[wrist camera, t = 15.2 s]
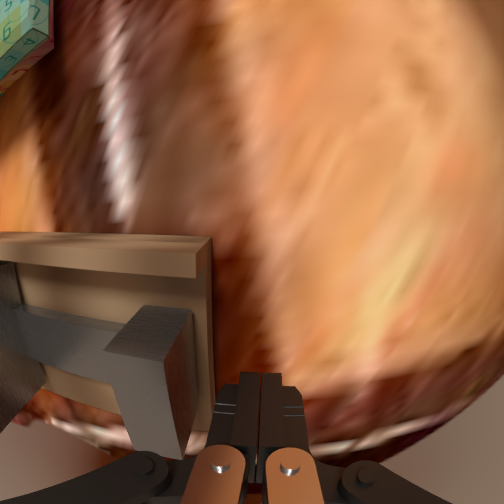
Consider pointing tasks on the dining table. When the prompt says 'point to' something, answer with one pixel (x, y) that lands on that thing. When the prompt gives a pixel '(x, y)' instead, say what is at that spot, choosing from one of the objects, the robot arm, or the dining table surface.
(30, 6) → the puzzle game
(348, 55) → the dining table surface
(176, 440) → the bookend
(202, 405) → the shelf
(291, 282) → the dining table surface
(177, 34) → the dining table surface
